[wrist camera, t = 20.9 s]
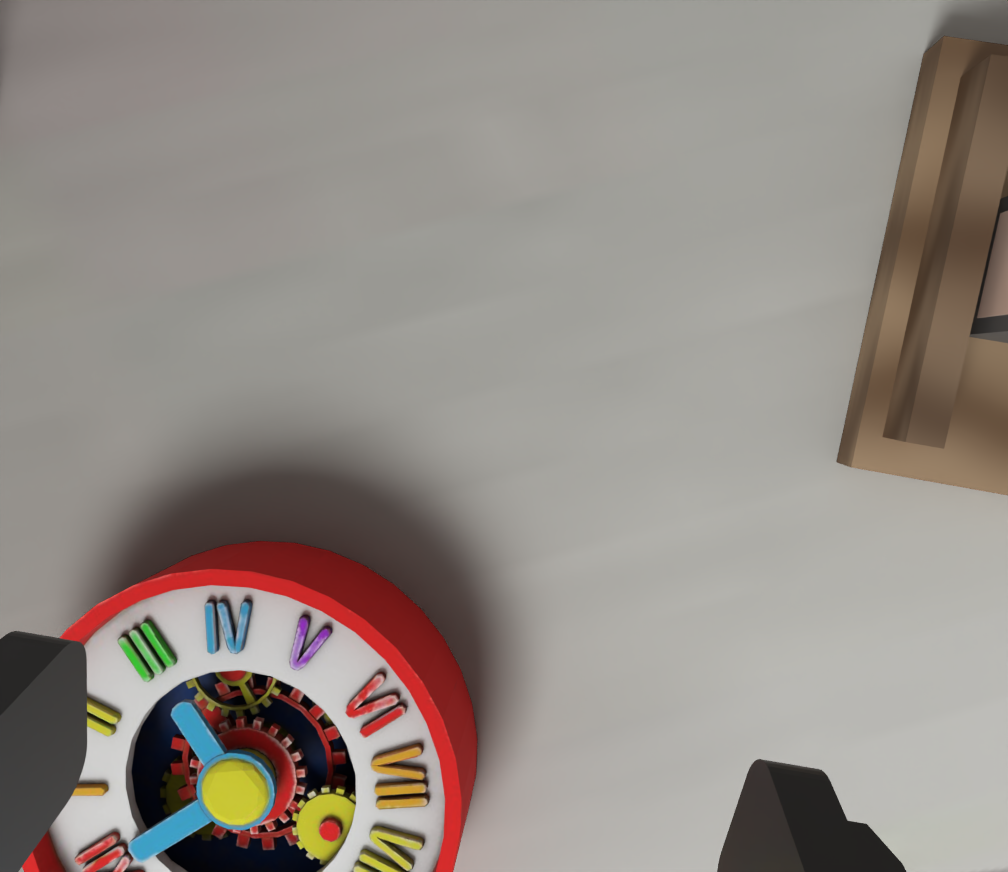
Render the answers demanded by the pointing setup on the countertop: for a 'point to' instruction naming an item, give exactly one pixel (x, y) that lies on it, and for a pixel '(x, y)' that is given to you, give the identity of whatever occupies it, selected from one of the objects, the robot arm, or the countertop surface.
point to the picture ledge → (939, 287)
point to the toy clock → (266, 724)
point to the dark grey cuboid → (994, 285)
